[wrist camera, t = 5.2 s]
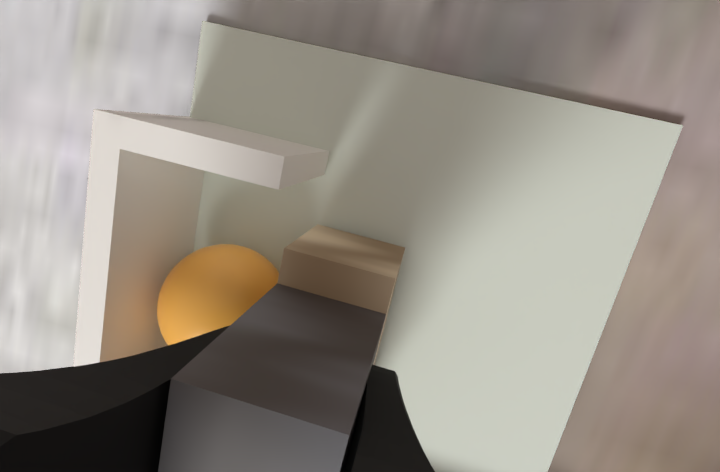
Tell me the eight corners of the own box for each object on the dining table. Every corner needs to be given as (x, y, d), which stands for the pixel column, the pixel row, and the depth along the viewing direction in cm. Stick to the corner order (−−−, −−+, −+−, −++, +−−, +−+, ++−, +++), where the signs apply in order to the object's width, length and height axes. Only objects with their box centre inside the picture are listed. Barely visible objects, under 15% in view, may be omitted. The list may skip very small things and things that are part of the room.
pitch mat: (679, 125, 13) (682, 125, 13) (490, 611, 18) (490, 616, 18) (205, 21, 15) (202, 20, 15) (143, 490, 20) (140, 493, 19)
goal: (329, 151, 15) (284, 156, 11) (271, 428, 18) (217, 522, 13) (189, 116, 16) (93, 108, 11) (154, 390, 18) (64, 468, 14)
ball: (211, 280, 11) (140, 229, 14) (190, 416, 12) (127, 346, 15) (324, 265, 14) (250, 225, 17) (300, 375, 15) (233, 323, 18)
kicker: (405, 247, 15) (363, 378, 7) (336, 508, 17) (247, 829, 9) (317, 224, 15) (178, 322, 7) (263, 483, 18) (116, 772, 10)
